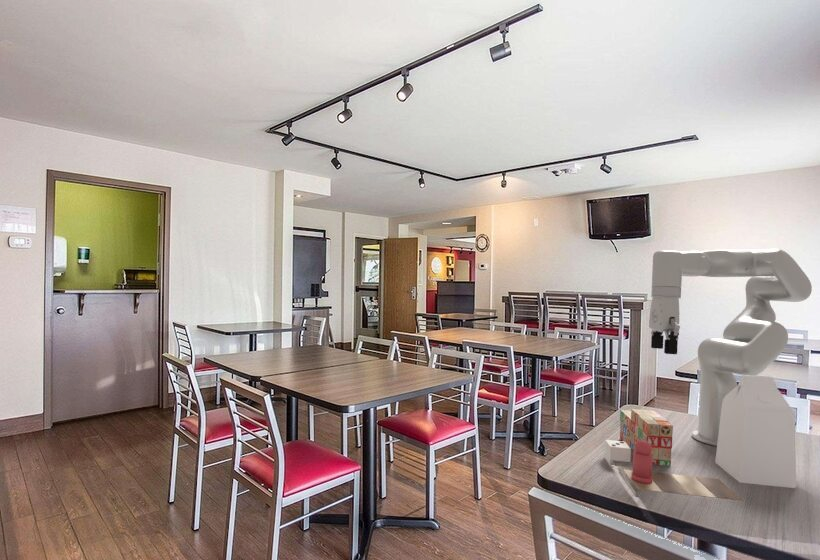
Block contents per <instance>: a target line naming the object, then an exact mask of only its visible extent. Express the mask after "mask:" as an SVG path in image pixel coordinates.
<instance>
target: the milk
mask: <svg viewBox="0 0 820 560" xmlns="http://www.w3.org/2000/svg"><path fill="white" fill-rule="evenodd" d="M737 385H738V386H737V387H735V388H734V389H733V390H732V391H731V392H729V393H728V394H727V395H726V396H725V397H724V399H723V401H722V409H721V417H720V426H719V434H718V443H717V446H716V452H715V453H716V454H715V461H714V462H715V464H716V465H717V466H719V467H720V468H721V469H722V470H724V471H725V472H726V473H727V474H728V475H730V476H731V477H732V478H733V479H735V481H737V482H738V483H742V484H751V485H760V486H771V487H778V488H780V487H781V488H790V489H797V469H796V468H797V466H796V465H797V464H796V463H797V462H796V460H797V458H796V456H797V455H796V452H797V451H796V417H795V413H794V411H793V409H792V407H791V405H790V404H789V403H788V401H787V400H786V399H785V397H784V396H783V394H782V393H781V391H780V390H779V388H778V386H777V384H776V382H775V380H774V378H773V377H772V376H766V375H755V376H754V375H742V376H741V378H740V380H739V382H738V383H737Z"/></svg>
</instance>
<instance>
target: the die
mask: <svg viewBox="0 0 820 560" xmlns="http://www.w3.org/2000/svg"><path fill="white" fill-rule="evenodd" d="M604 443H605V445H604V459H605V460H606V462H607V464H608V463H609V464H608V466H612V465H615V466H614V467H617V466H618V465H617V464H616V463H615V461H616V462H627V463H631V456H632V455H631V454H632V449H631V448H630V447H629V446H628V445H627V443H626V442H624V441H621V440H614V439H613V440H612V439H605V441H604Z"/></svg>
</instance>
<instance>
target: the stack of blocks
mask: <svg viewBox="0 0 820 560" xmlns="http://www.w3.org/2000/svg"><path fill="white" fill-rule="evenodd" d="M619 412H620V415H619V421H620V424H619V425H620V426H619V440H620V439H621V440H622V441H624V442H626V443H627V445H628V446H629V447H630V448H631V450H633V451H634V450H635V443H636V442H637V441H639V440H645V441H647V442H648V443H649V444H650V445H651V447H652V451H651V453H652V455H653V456H652V466H664V467H665V466H666V467H672V466H671V465H672V448H673V434H674V425H673V424H672V423H670V422H669V421H668V420H667V419H666V418H665V417H663V416H662V415H661V414H659V413H658V412H656V411H655V410H650V409H649V410H648V409H635V408H631V409H630V410H628V409H627V410H626V409H625V410H624V409H621V410H620V411H619ZM621 440H620V441H621Z"/></svg>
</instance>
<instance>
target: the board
mask: <svg viewBox="0 0 820 560" xmlns="http://www.w3.org/2000/svg"><path fill="white" fill-rule="evenodd" d="M618 470H619V471H618V473H619V475H620V476H621V478H622V480H623V481H624V482H625V484H626V485H627V487H628V488H629V489H630V490H631V492H632V493H633V495H634V497H635V498H636V497H637V498H639V497H640V496H639V495H638V494H637V492H636V491H635V489H634V487H633V486H635V487H636V490H640V491H650V492H651V491H652V492H660V493H669V494H679V495H687V496H688V495H690V496H698V497H708V498H718V499H725V500H726V499H727V500H736V501H744V499H743V498H742V497H741V496H740V495H738V494H737V493H736V492H734V491H733V490H732V489H731V488H730V487H729V486H728V485H727V484H725V483H724V481H722V480H721V479H720V478H715V477H705V476H693V475H686V474H685V475H684V474H675V473H671V474H670V473H665V472H663V473H662V472H654V471H652V477H653V479H652V483H651V484H641V483H638V482H636V481H634V480H633V479H632V478H631V476H632V471H633V469H626V468H625V469H622V470H623V472H624V473H625V474H626V476H627V477H628V478H629V479H630V481H631V482H632V484H633V486H632V485H631V483H630V482H629V481H628V479H627V477H626V476H625V475H624V474H623V472H622V471H621V469H618Z"/></svg>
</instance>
